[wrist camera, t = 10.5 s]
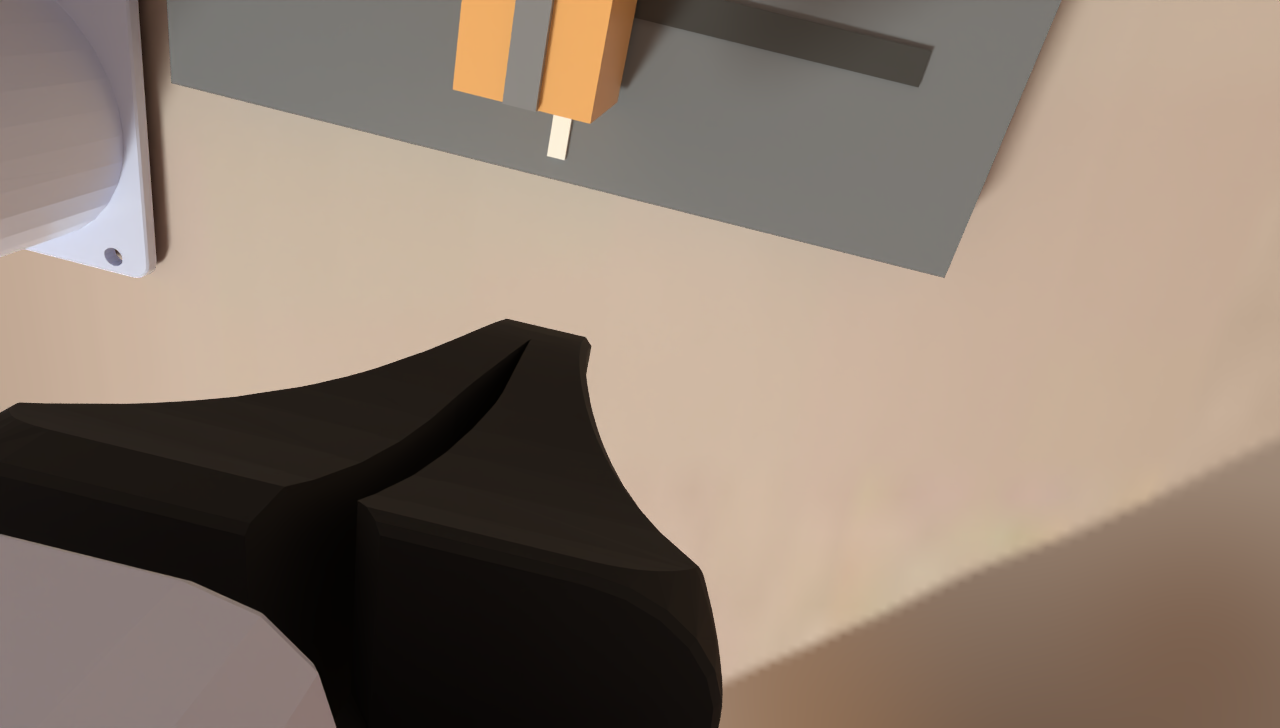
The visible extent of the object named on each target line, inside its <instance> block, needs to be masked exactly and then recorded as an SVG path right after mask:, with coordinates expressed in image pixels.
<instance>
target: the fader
mask: <svg viewBox="0 0 1280 728" xmlns="http://www.w3.org/2000/svg"><path fill="white" fill-rule="evenodd" d="M636 4H637V0H462V2H461V12H460V22H459V32H458V41H457V51H456V61H455V71H454V81H453V90H457V91H461V92H465V93H469V94H473V95H477V96H481V97H485V98H489V99H493V100H497V101H501V102H502V104H506V105H510V106H514V107H518V108H522V109H526V110H530V111H534V112H536V111H541V112H545V113H549V114H553V115H557V116H561V117H565V118H569V119H573V120H577V121H581V122H585V123H589V124H591V123H592V122H593V121H594V120H596V119H597V118H598V117H599V116H601V115H602V114H603V113H605V112H606V111H607V110H608V109H610V108H611V107H612V106H613V105H615V104H616V103H617V102H618V96H619V91H620V86H621V81H622V76H623V71H624V66H625V61H626V56H627V50H628V45H629V40H630V35H631V30H632V25H633V20H634V15H635V9H636Z"/></svg>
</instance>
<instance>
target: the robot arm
mask: <svg viewBox="0 0 1280 728" xmlns="http://www.w3.org/2000/svg"><path fill="white" fill-rule="evenodd" d="M23 249H26V250H29V251H33V252H37V253H41V254H45V255H49V256H53V257H56V258H60V259H64V260H68V261H72V262H76V263H80V264H84V265H87V266H91V267H95V268H99V269H103V270H107V271H111V272H114V273H118V274H122V275H126V276H130V277H135V278H141V277H143V276H145V275H148V274H150V273H152V272H153V271H154V270H155V268H156V263H157V260H156V246H155V232H154V218H153V204H152V190H151V176H150V161H149V147H148V133H147V119H146V105H145V91H144V77H143V63H142V49H141V35H140V21H139V7H138V0H0V257H3V256H6V255H9V254H11V253H14V252H17V251H20V250H23ZM115 249H116V250H118V252H119V253H120V254H121V256H122V259H123V260H121V259H120V258H119V257H118V256H117V255H116V252H115ZM590 350H591V345H590V343H589V342H588V340H587V339H586V337H582V336H578V335H574V334H570V333H565V332H561V331H557V330H552V329H548V328H544V327H540V326H535V325H531V324H527V323H522V322H518V321H514V320H510V319H505V320H501V321H498V322H495V323H493V324H490V325H488V326H485V327H483V328H481V329H478V330H476V331H473V332H471V333H469V334H466V335H464V336H462V337H459V338H457V339H454V340H452V341H449V342H447V343H445V344H442V345H440V346H437V347H435V348H432V349H430V350H427V351H425V352H422V353H419V354H416V355H413V356H410V357H407V358H404V359H402V360H399V361H396V362H393V363H390V364H387V365H384V366H381V367H379V368H376V369H372V370H369V371H365V372H362V373H358V374H355V375H351V376H347V377H343V378H339V379H335V380H330V381H326V382H322V383H317V384H313V385H308V386H303V387H297V388H291V389H284V390H277V391H271V392H264V393H257V394H251V395H244V396H238V397H229V398H218V399H207V400H196V401H181V402H163V403H140V404H44V403H17V404H15V405H13V406H11V407H10V408H8V409H6V410H4V411H2V412H1V413H0V728H718V727H719V722H720V717H721V709H722V674H721V664H720V655H719V647H718V640H717V634H716V628H715V623H714V618H713V613H712V608H711V604H710V600H709V596H708V591H707V587H706V583H705V580H704V576H703V573H702V571H701V570H700V568H699V566H697V565H696V564H695V563H694V562H693V561H692V560H691V559H690V558H688V557H687V556H686V555H685V554H684V553H683V552H682V551H680V550H679V549H678V548H677V547H676V546H675V545H674V544H673V543H671V542H670V541H669V540H668V539H667V538H666V537H665V536H664V535H662V534H661V533H660V532H659V531H658V530H657V528H656V527H655V526H654V525H653V524H652V523H651V522H650V521H649V519H648V518H647V517H646V516H645V515H644V514H643V513H642V511H641V510H640V509H639V508H638V506H637V505H636V503H635V502H634V500H633V499H632V497H631V496H630V495H629V493H628V492H627V490H626V489H625V487H624V486H623V484H622V482H621V481H620V479H619V477H618V475H617V473H616V471H615V469H614V468H613V466H612V464H611V461H610V459H609V457H608V455H607V453H606V450H605V448H604V446H603V443H602V441H601V438H600V435H599V432H598V429H597V426H596V422H595V419H594V416H593V412H592V408H591V404H590V398H589V392H588V386H587V379H586V372H587V367H588V361H589V356H590Z"/></svg>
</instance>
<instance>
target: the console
mask: <svg viewBox="0 0 1280 728" xmlns="http://www.w3.org/2000/svg"><path fill="white" fill-rule="evenodd" d="M461 2H462V0H167V13H168V31H169V49H170V67H171V83H173V84H177V85H181V86H185V87H189V88H193V89H197V90H201V91H205V92H209V93H213V94H217V95H221V96H225V97H229V98H233V99H237V100H240V101H244V102H248V103H252V104H256V105H260V106H264V107H268V108H272V109H276V110H280V111H284V112H288V113H292V114H296V115H300V116H304V117H308V118H312V119H316V120H320V121H324V122H328V123H332V124H336V125H340V126H344V127H348V128H352V129H356V130H360V131H364V132H367V133H371V134H375V135H379V136H383V137H387V138H391V139H395V140H399V141H403V142H407V143H411V144H415V145H419V146H423V147H427V148H431V149H435V150H439V151H443V152H447V153H451V154H455V155H459V156H463V157H467V158H471V159H475V160H479V161H483V162H487V163H491V164H494V165H498V166H502V167H506V168H510V169H514V170H518V171H522V172H526V173H530V174H534V175H538V176H542V177H546V178H550V179H554V180H558V181H562V182H566V183H570V184H574V185H578V186H582V187H586V188H590V189H594V190H598V191H602V192H606V193H610V194H614V195H618V196H621V197H625V198H629V199H633V200H637V201H641V202H645V203H649V204H653V205H657V206H661V207H665V208H669V209H673V210H677V211H681V212H685V213H689V214H693V215H697V216H701V217H705V218H709V219H713V220H717V221H721V222H725V223H729V224H733V225H737V226H741V227H745V228H749V229H752V230H756V231H760V232H764V233H768V234H772V235H776V236H780V237H784V238H788V239H792V240H796V241H800V242H804V243H808V244H812V245H816V246H820V247H824V248H828V249H832V250H836V251H840V252H844V253H848V254H852V255H856V256H860V257H864V258H868V259H872V260H876V261H879V262H883V263H887V264H891V265H895V266H899V267H903V268H907V269H911V270H915V271H919V272H923V273H927V274H931V275H935V276H939V277H943V278H945V275H946V273H947V271H948V268H949V266H950V264H951V261H952V259H953V256H954V254H955V252H956V249H957V247H958V245H959V242H960V240H961V238H962V235H963V233H964V230H965V228H966V226H967V223H968V221H969V219H970V216H971V214H972V211H973V209H974V207H975V204H976V202H977V200H978V197H979V195H980V192H981V190H982V188H983V185H984V183H985V181H986V178H987V176H988V174H989V171H990V169H991V166H992V164H993V162H994V159H995V157H996V155H997V152H998V150H999V147H1000V145H1001V143H1002V140H1003V138H1004V136H1005V133H1006V131H1007V128H1008V126H1009V124H1010V121H1011V119H1012V117H1013V114H1014V112H1015V110H1016V107H1017V105H1018V102H1019V100H1020V98H1021V95H1022V93H1023V91H1024V88H1025V86H1026V83H1027V81H1028V79H1029V76H1030V74H1031V72H1032V69H1033V67H1034V64H1035V62H1036V60H1037V57H1038V55H1039V53H1040V50H1041V48H1042V45H1043V43H1044V41H1045V38H1046V36H1047V34H1048V31H1049V29H1050V27H1051V24H1052V22H1053V19H1054V17H1055V15H1056V12H1057V10H1058V8H1059V5H1060V3H1061V0H637V4H636V9H635V15H634V20H633V25H632V30H631V35H630V40H629V45H628V50H627V56H626V61H625V66H624V71H623V76H622V81H621V86H620V91H619V96H618V102H617V103H616V104H615V105H613V106H612V107H611V108H610V109H608V110H607V111H606V112H605V113H603V114H602V115H601V116H599V117H598V118H597V119H596V120H594V121H593V122H592V123H591V124H589V123H585V122H581V121H577V120H573V119H569V118H565V117H561V116H557V115H553V114H549V113H545V112H541V111H536V112H534V111H530V110H526V109H522V108H518V107H514V106H510V105H506V104H502V102H501V101H497V100H493V99H489V98H485V97H481V96H477V95H473V94H469V93H465V92H461V91H457V90H453V81H454V71H455V61H456V51H457V41H458V32H459V22H460V12H461Z"/></svg>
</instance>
